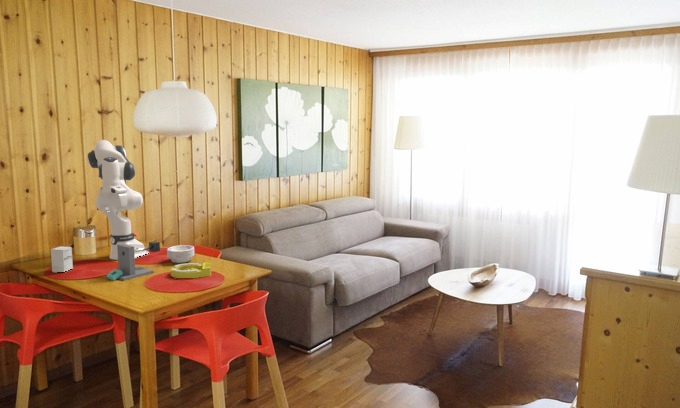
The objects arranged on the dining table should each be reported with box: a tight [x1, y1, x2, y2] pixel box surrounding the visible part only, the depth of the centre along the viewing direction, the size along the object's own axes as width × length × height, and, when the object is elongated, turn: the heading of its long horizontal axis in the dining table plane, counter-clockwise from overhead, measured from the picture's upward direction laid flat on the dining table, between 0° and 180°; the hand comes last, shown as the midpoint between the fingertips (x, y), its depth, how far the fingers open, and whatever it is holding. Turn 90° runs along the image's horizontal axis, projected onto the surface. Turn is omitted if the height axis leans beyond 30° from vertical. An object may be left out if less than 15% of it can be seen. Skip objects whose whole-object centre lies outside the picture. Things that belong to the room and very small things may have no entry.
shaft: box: [134, 240, 161, 253], centre depth 287 cm, size 20×4×5 cm, turn 146°
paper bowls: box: [166, 244, 195, 264], centre depth 310 cm, size 15×15×8 cm
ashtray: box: [170, 262, 212, 279], centre depth 285 cm, size 16×21×5 cm
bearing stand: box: [107, 244, 155, 281], centre depth 282 cm, size 18×14×16 cm
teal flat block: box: [106, 268, 123, 281], centre depth 275 cm, size 2×6×6 cm
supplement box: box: [50, 245, 74, 273], centre depth 286 cm, size 7×7×13 cm
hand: (112, 213), depth 286 cm, fingers open, 8 cm apart
